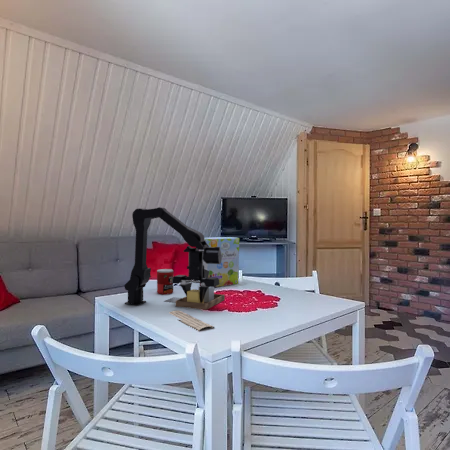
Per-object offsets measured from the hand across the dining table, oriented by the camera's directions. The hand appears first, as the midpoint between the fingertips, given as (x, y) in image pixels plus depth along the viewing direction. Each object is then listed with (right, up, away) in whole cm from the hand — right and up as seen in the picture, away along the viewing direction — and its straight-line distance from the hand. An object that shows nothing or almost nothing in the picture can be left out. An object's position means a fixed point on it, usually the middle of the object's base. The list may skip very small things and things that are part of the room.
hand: (195, 301), depth 142 cm
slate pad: (-9, -2, +9) cm, 13 cm away
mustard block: (0, -2, 0) cm, 2 cm away
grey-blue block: (+4, -1, +9) cm, 10 cm away
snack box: (+9, -2, +48) cm, 49 cm away
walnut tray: (+2, -2, +5) cm, 5 cm away
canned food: (-17, -2, +27) cm, 32 cm away
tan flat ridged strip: (0, -3, -19) cm, 19 cm away
